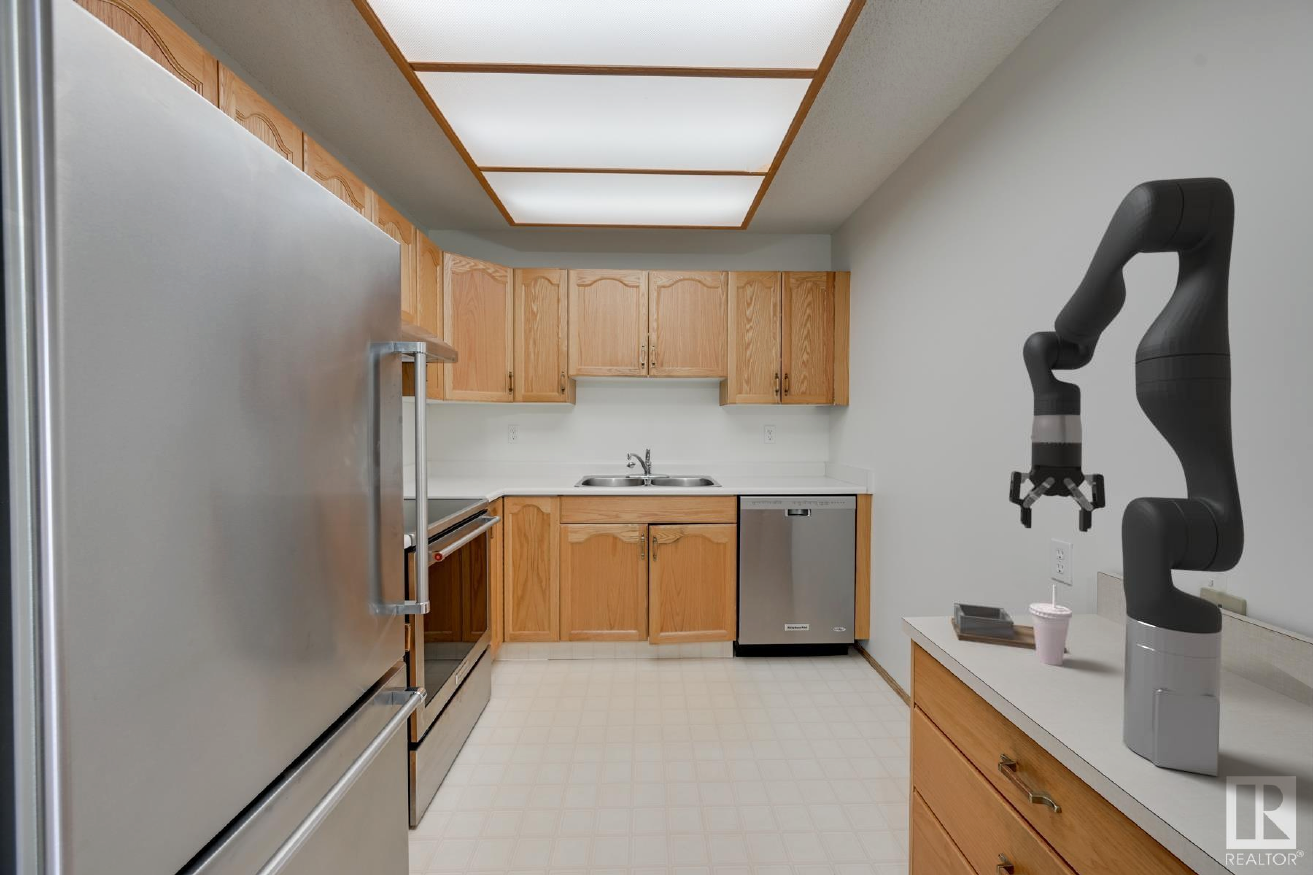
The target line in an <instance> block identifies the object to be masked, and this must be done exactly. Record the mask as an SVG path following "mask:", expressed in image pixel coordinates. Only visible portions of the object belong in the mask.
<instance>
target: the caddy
mask: <svg viewBox="0 0 1313 875" xmlns="http://www.w3.org/2000/svg"><path fill="white" fill-rule="evenodd" d="M953 609H954V610H953V617H951V619H950V620H951V624H952V627H953V630H954V631H955V634H956V638H957V639H958V641H966V642H974V643H983V644H988V645H989V644H991V645H998V646H1005V645H1006V646H1007V647H1015V648H1022V649H1029V650H1036V644H1035V636H1034V627H1033V626H1029V625H1027V626H1026V625H1021V624H1020V625H1019V624H1014V623H1015V621H1014V620H1013V619H1012V618H1011V616H1010V615H1009V613H1008V612H1007V611H1006V610H1005V608H1003V607H996V606H995V607H994V606H985V605H977V604H976V605H975V604H966V603H956V602H954V607H953ZM1064 654H1067V647H1066V646H1065V649H1064Z"/></svg>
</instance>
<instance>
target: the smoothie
mask: <svg viewBox="0 0 1313 875" xmlns="http://www.w3.org/2000/svg"><path fill="white" fill-rule="evenodd" d="M1057 586H1058V585H1057V584H1052V603H1045V602H1034V603H1031V604H1030V605H1029V610H1028V611H1029V612H1030V613H1031V617H1032V627H1034V636H1035V644H1036V649H1035V651H1036V658H1037V660H1038V662H1040V663H1043V664H1047V665H1050V666H1061V665H1062V664H1063V659H1064V654H1065V653H1064V649H1065V647H1066V642H1067V637H1068V631H1069V626H1070V620H1071V619H1073V611H1072V610H1071V609H1069V608H1067V607H1064V606H1062V605H1057V596H1058V594H1057V592H1058V591H1057V589H1058V588H1057Z"/></svg>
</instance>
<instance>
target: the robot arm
mask: <svg viewBox="0 0 1313 875" xmlns="http://www.w3.org/2000/svg"><path fill="white" fill-rule="evenodd" d="M1234 196H1235V195H1234V192H1233V190H1232V188H1231V185H1230V183H1229V182H1227V181H1226V180H1224V179H1223V178H1221V177H1191V178H1190V177H1189V178H1186V177H1185V178H1170V179H1168V178H1167V179H1157V180H1150V181H1146V182H1142V183H1140V184H1137V185H1136V186H1135V187H1133V188H1132V189H1130V191H1129V192H1128V193H1127V194H1126V195H1125V197H1124V198H1123V199H1122V200H1121V202H1120V204H1119V205H1118V207H1117V208H1116V210H1115V212H1114V214H1113V216H1112V218H1111V220H1110V222H1109V223H1108V226H1107V228H1106V230H1105V232H1104V234H1103V236H1102V238H1101V241H1100V242H1099V244H1098V246H1097V248H1096V251H1095V253H1094V255H1093V257H1092V260H1091V261H1090V264H1089V266H1088V268H1087V270H1086V273H1085V274H1084V277H1083V278H1082V280H1081V282H1080V284H1079V285H1078V287H1077V288H1076V290H1075V291H1074V293H1073V294H1072V296H1071V297H1069V299H1068V301H1067V303H1065V305H1064V307H1063V308H1062V309H1061V310H1060V312H1059V313H1058V315H1057V317H1056V319H1054V320H1055V321H1054V326H1053V327H1054V330H1055V331H1052V330H1051V331H1048V330H1047V331H1045V330H1043V331H1036V332H1034V333H1031V335H1029V336H1028V337H1027V339H1026V340H1025V342H1024V345H1023V348H1022V356H1023V361H1024V362H1023V363H1024V364H1025V365H1024V366H1025V368H1026V371H1027V374H1028V377H1029V380H1030V384H1031V388H1032V392H1033V420H1032V426H1031V435H1030V439H1031V464H1030V465H1031V469H1030V470H1029V472H1021V471H1017V470H1013V471H1011V473H1010V484H1009V494H1008V500H1009V502H1010V503H1012V504H1015V505H1018V506H1019V508H1020V521H1019V522H1020V524H1021V525H1023V526H1024V528H1025V529H1032V522H1033V521H1032V520H1033V519H1032V516H1033V515H1032V513H1033V512H1032V511H1033V510H1032V508H1031V506H1033V504H1034V503H1035V502H1036V501H1038V500H1039V498H1040V497H1042V495H1044V496H1045V497H1056V496H1058V497H1062V498H1064V497H1065V498H1068V497H1069V496H1070V498H1072V500H1074V501H1075V503H1076V504H1078V506H1079V507H1080V509H1079V511H1078V531H1079V532H1083V533H1088V532H1089V531H1088V530H1091V528H1092V525H1093V524H1092V523H1093V522H1092V518H1093V517H1092V516H1093V515H1092V514H1093V511H1094V510H1097V509H1103V508H1106V490H1105V477H1104V475H1103V474H1101V473H1092V474H1084V473H1083V469H1082V466H1083V465H1082V464H1083V463H1082V462H1083V460H1082V459H1083V455H1082V453H1083V425H1082V420H1081V419H1082V418H1081V412H1082V410H1081V408H1082V407H1081V406H1082V405H1081V404H1082V403H1081V402H1082V401H1081V398H1082V395H1081V394H1082V393H1081V388H1080V387H1079V385H1078V384H1075V383H1072V382H1067V381H1062V380H1060V379H1057V377H1056V376H1055V374H1054V373H1053V371H1073V370H1079V369H1082V368H1084V367H1085V366H1087V365H1089V364H1090V362H1091V361H1092V359H1093V358H1094V353H1095V350H1096V347H1097V345H1098V342H1099V340H1100V337H1101V335H1102V333H1103V332H1104V331H1105V330H1106V329H1107V327H1109V326H1110V325H1111V323H1112V322H1113V321H1114V320H1115V318H1116V317H1117V316H1118V315H1119V313H1120V312H1121V311H1122V309H1123V307H1124V305H1125V302H1126V296H1127V288H1126V282H1125V277H1124V273H1123V272H1124V267H1125V266H1126V265H1127V264H1128V262H1129V261H1131V259H1132V258H1134V257H1135V256H1136V255H1138V254H1154V253H1155V254H1156V253H1157V254H1158V253H1177V255H1178V256H1177V257H1178V271H1177V272H1178V273H1177V279H1176V285H1175V288H1174V290H1173V293H1172V295H1171V297H1170V299H1169V300H1168V302H1167V303H1166V304H1165V306H1164V308H1163V309H1162V310H1161V312H1159V314H1158V315H1157V317H1156V318H1155V319H1154V321H1153V322H1152V323H1151V325H1150V326H1149V327H1148V329H1147V330H1146V332H1145V333H1144V334H1143V336H1142V338H1141V340H1140V342H1138V343H1139V344H1138V345H1137V348H1136V351H1135V358H1134V360H1135V362H1134V364H1135V365H1134V367H1135V368H1134V372H1135V373H1134V376H1135V396H1136V400H1137V403H1138V404H1139V406H1140V409H1141V410H1142V411H1143V413H1144V414H1145V416H1146V417H1147V419H1148V420H1149V421H1150V423H1151V424H1152V425H1153V426H1154V428H1155V429H1156V430H1157V431H1158V432H1159V434H1160V435H1161V436H1162V437H1163V439H1165V441H1166V442H1167V443H1168V445H1169V446H1170V447H1171V448H1172V450H1173V451H1174V453H1175V455H1176V456H1177V458H1178V460H1179V463H1180V465H1181V467H1182V470H1183V475H1184V478H1185V483H1186V493H1187V498H1186V497H1182V498H1181V497H1157V496H1155V497H1154V496H1143V497H1136V498H1134V499H1133V500H1131V501H1130V502H1129V503H1128V504H1127V505H1126V507H1125V509H1124V512H1123V516H1122V519H1121V550H1122V577H1123V578H1122V579H1123V580H1122V583H1123V584H1122V586H1123V592H1124V597H1125V604H1126V607H1125V608H1126V609H1125V615H1126V616H1125V637H1124V638H1125V639H1124V640H1125V643H1124V646H1125V647H1124V678H1123V679H1124V682H1123V683H1124V686H1123V718H1122V720H1123V727H1122V740H1123V742H1124V744H1125V745H1126V746H1127V747H1128V748H1129V749H1130V750H1131V751H1132V752H1135V753H1137V755H1139V756H1142V757H1143V758H1146V759H1148V760H1149V761H1151V762H1152V763H1153V765H1155V766H1158V767H1162V768H1168V769H1173V770H1174V769H1175V770H1179V771H1185V772H1192V773H1196V774H1203V775H1209V776H1213V777H1218V776H1219V756H1220V755H1219V754H1220V752H1219V751H1220V750H1219V749H1220V748H1219V746H1220V724H1221V723H1220V722H1221V720H1220V714H1221V713H1220V712H1221V665H1222V662H1221V661H1222V638H1223V637H1222V636H1223V631H1222V630H1223V614H1222V611H1221V609H1220V608H1219V606H1218V605H1216V604H1214V603H1213V602H1211V601H1209V600H1207V599H1205V598H1202V597H1199V596H1196V595H1193V594H1190V593H1187V592H1185V591H1182V590H1181V589H1179V588H1178V587H1176V586H1175V585H1174V582H1173V577H1172V570H1174V571H1175V570H1176V571H1177V570H1178V571H1190V572H1191V571H1193V572H1209V573H1210V572H1211V573H1220V572H1222V573H1223V572H1228V571H1231V570H1232V569H1234V568H1235V567H1236V566H1237V565H1238V564H1239V562H1240V560H1241V558H1242V557H1243V556H1242V555H1243V553H1244V552H1243V551H1244V546H1245V530H1244V527H1245V526H1244V520H1243V511H1242V505H1241V497H1240V492H1239V485H1238V479H1237V472H1236V466H1235V459H1234V450H1233V434H1232V432H1233V431H1232V430H1233V429H1232V408H1231V407H1232V405H1231V404H1232V403H1231V402H1232V365H1231V364H1232V363H1231V358H1232V357H1231V347H1230V346H1231V344H1230V334H1229V333H1230V332H1229V331H1230V330H1229V280H1230V268H1231V267H1230V266H1231V257H1232V247H1233V238H1234V229H1235V214H1236V213H1235V211H1236V208H1235V207H1236V206H1235V197H1234ZM1027 479H1028V480H1029V481H1030V482H1031V484H1032V485H1033V487H1032V488H1031V489H1029V491H1028V492H1027V494H1026V495H1025V496H1024V497H1023V498H1020V496H1021V486H1022V485H1021V484H1025V482H1026V480H1027ZM1085 481H1086V483H1087V485H1088V486H1090V487H1091V497H1092V498H1091V501H1089V500H1088V499H1087V497H1086V495H1085V494H1084V493H1083V492H1082V491H1081V490H1080V486H1082V484H1083V483H1084V482H1085Z"/></svg>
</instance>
